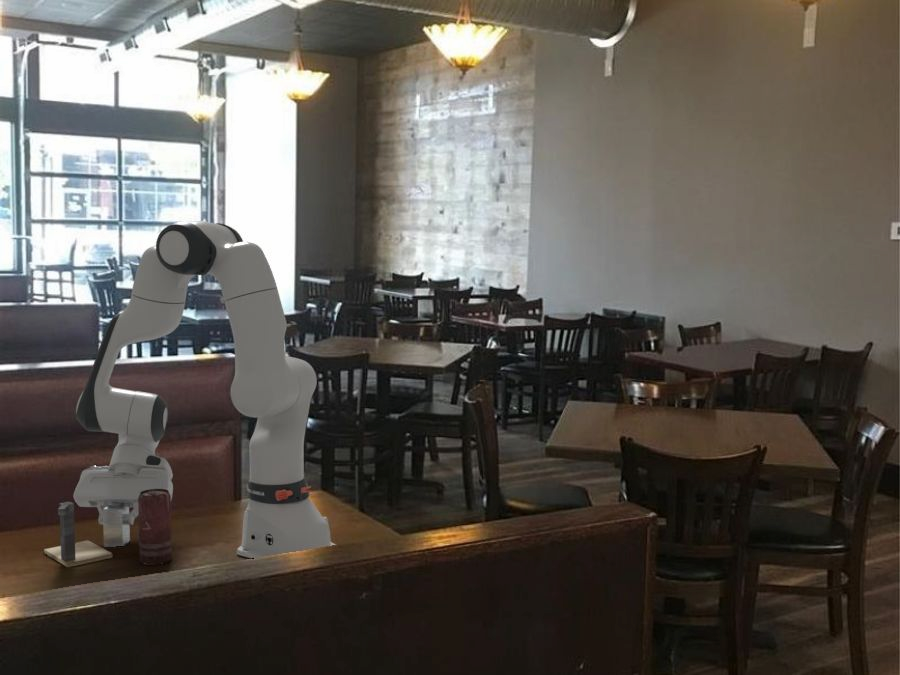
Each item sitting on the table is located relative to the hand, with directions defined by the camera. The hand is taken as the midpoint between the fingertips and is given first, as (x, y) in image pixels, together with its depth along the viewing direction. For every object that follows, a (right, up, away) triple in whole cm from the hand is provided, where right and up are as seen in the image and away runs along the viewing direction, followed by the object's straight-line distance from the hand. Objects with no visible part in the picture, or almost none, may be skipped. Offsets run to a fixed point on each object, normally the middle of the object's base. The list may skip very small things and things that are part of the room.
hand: (115, 523), depth 199 cm
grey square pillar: (0, -5, +1) cm, 5 cm away
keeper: (-5, -5, -8) cm, 11 cm away
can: (+12, -6, -10) cm, 16 cm away
